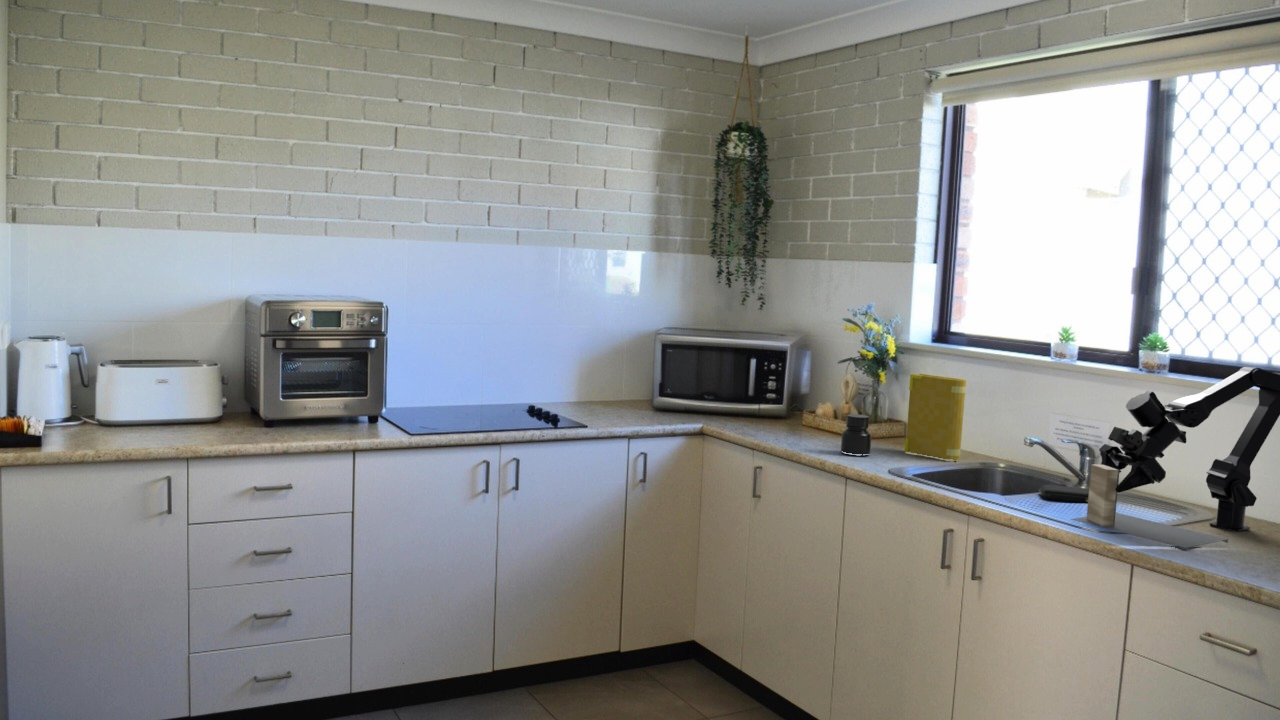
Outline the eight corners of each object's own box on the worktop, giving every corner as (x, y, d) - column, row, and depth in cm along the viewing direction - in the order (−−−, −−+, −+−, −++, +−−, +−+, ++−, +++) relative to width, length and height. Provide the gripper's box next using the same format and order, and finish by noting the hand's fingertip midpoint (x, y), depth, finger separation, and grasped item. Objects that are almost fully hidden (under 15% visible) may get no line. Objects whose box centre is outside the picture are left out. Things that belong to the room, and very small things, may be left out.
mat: (1114, 514, 255) (1114, 512, 255) (1227, 541, 233) (1228, 539, 232) (1070, 521, 244) (1070, 519, 244) (1184, 550, 222) (1185, 547, 222)
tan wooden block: (1098, 519, 246) (1103, 464, 245) (1114, 526, 240) (1119, 470, 238) (1086, 518, 246) (1091, 464, 244) (1102, 525, 239) (1107, 469, 238)
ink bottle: (876, 455, 322) (879, 417, 321) (861, 458, 316) (864, 419, 315) (849, 450, 329) (852, 412, 328) (833, 453, 322) (836, 414, 321)
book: (904, 453, 329) (910, 374, 327) (916, 451, 333) (922, 373, 331) (951, 462, 316) (958, 380, 314) (963, 460, 321) (970, 379, 319)
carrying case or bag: (1042, 502, 267) (1104, 508, 263) (1043, 490, 267) (1105, 496, 263) (1037, 494, 277) (1097, 500, 273) (1038, 482, 277) (1098, 488, 273)
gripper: (1110, 410, 250) (1063, 454, 250) (1158, 422, 232) (1107, 469, 231) (1137, 444, 252) (1090, 487, 252) (1187, 458, 234) (1137, 505, 233)
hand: (1105, 486), depth 242 cm, fingers open, 9 cm apart
